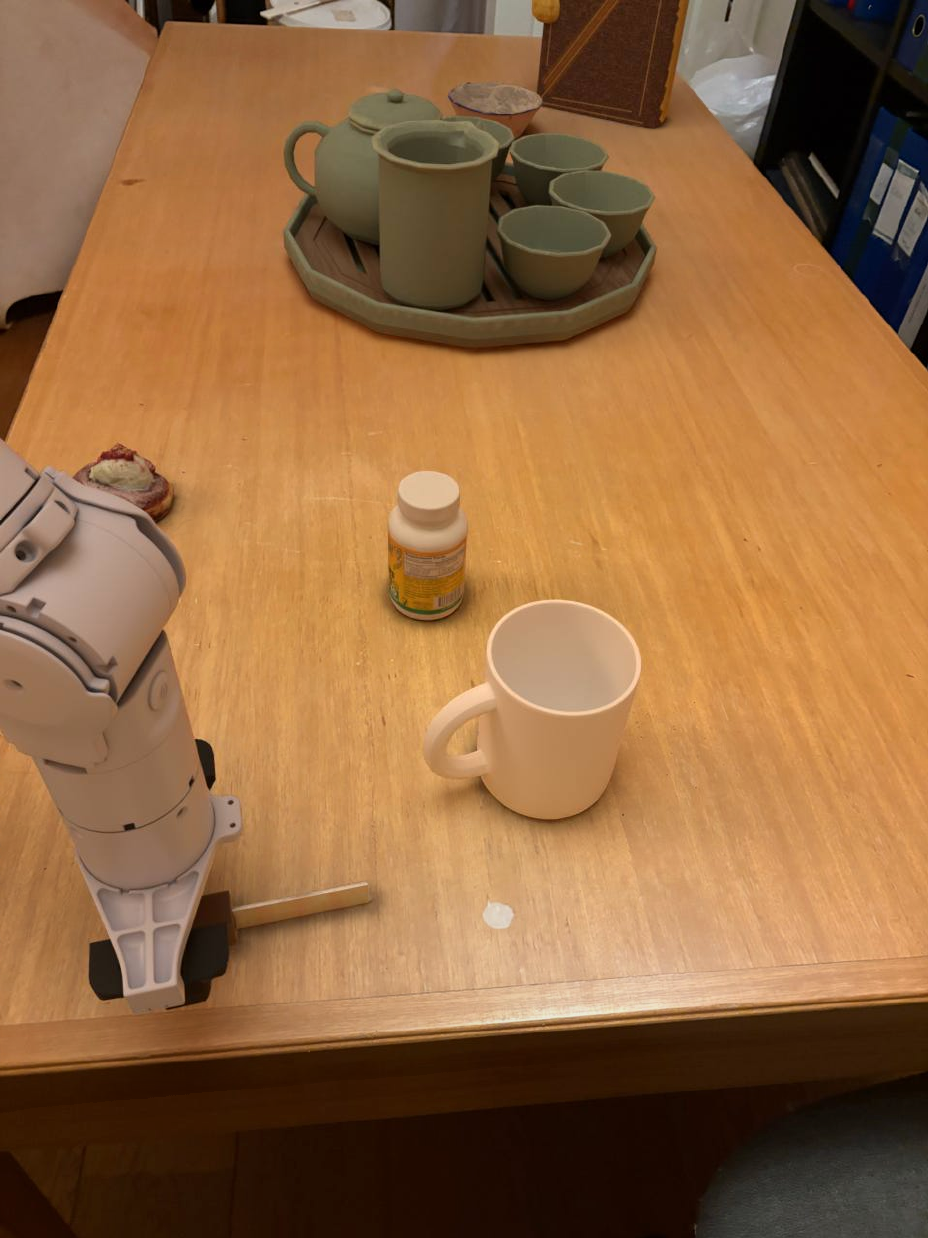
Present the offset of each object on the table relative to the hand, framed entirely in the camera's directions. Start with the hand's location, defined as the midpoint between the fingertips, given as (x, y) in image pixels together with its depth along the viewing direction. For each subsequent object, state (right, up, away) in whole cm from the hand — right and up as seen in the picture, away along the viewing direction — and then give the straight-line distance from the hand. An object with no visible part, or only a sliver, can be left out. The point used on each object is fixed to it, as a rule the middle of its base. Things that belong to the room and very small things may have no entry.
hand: (182, 924), depth 47 cm
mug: (+17, +6, +9) cm, 21 cm away
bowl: (+18, +84, +84) cm, 121 cm away
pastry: (-12, +24, +24) cm, 36 cm away
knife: (+3, 0, +2) cm, 4 cm away
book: (+34, +92, +93) cm, 136 cm away
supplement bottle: (+12, +17, +19) cm, 28 cm away
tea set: (+15, +56, +56) cm, 81 cm away
